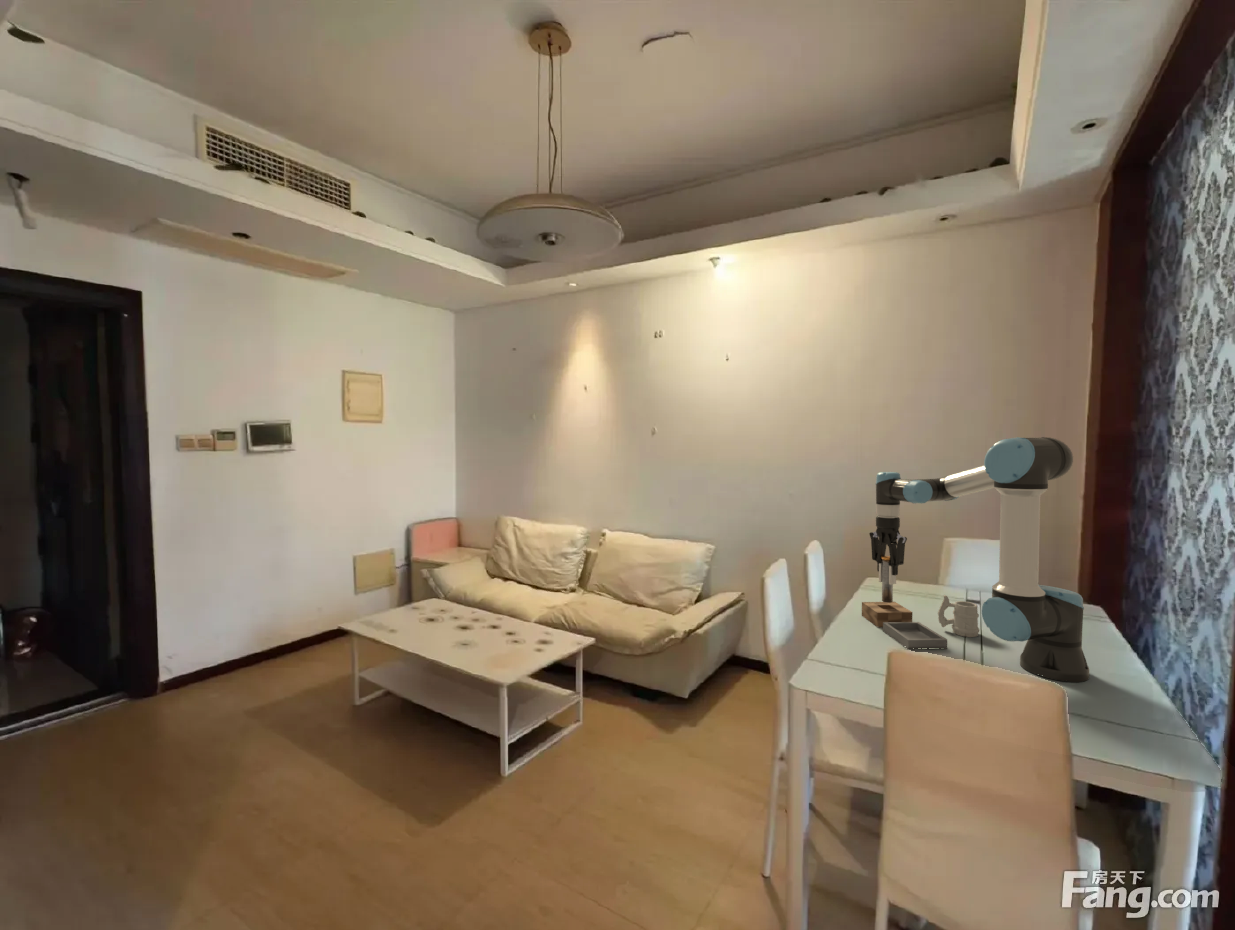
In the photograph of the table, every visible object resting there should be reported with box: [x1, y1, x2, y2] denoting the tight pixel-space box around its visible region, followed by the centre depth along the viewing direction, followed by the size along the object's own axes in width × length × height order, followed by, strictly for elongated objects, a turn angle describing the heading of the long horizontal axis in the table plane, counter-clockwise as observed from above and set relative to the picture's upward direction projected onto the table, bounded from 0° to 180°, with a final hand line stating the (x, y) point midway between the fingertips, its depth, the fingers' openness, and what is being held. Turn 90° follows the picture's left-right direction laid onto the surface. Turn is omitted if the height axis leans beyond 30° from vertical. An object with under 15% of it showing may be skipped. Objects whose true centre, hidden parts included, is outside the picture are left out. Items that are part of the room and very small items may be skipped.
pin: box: [881, 555, 894, 603], centre depth 195 cm, size 4×4×16 cm
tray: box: [882, 621, 948, 651], centre depth 178 cm, size 16×12×3 cm
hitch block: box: [861, 601, 913, 628], centre depth 196 cm, size 12×12×5 cm
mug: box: [937, 594, 980, 638], centre depth 184 cm, size 8×12×12 cm, turn 62°
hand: (887, 582), depth 195 cm, fingers closed on pin, 3 cm apart
